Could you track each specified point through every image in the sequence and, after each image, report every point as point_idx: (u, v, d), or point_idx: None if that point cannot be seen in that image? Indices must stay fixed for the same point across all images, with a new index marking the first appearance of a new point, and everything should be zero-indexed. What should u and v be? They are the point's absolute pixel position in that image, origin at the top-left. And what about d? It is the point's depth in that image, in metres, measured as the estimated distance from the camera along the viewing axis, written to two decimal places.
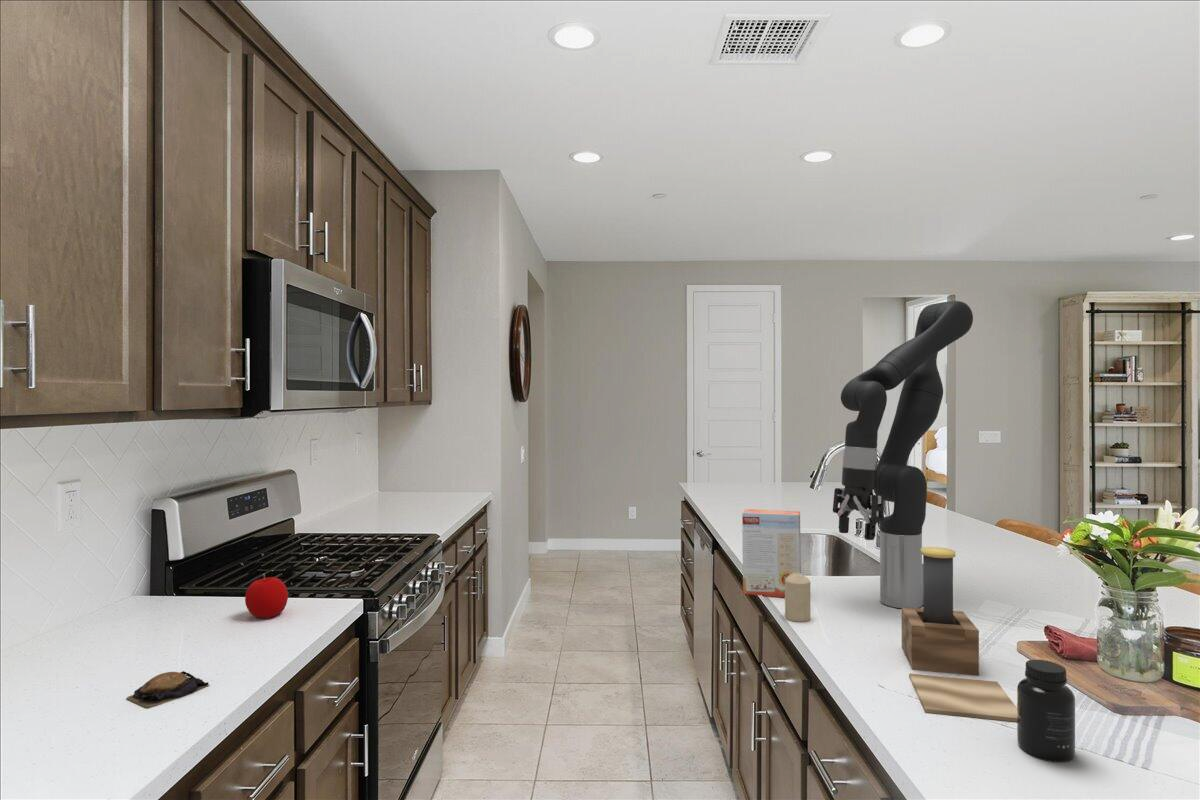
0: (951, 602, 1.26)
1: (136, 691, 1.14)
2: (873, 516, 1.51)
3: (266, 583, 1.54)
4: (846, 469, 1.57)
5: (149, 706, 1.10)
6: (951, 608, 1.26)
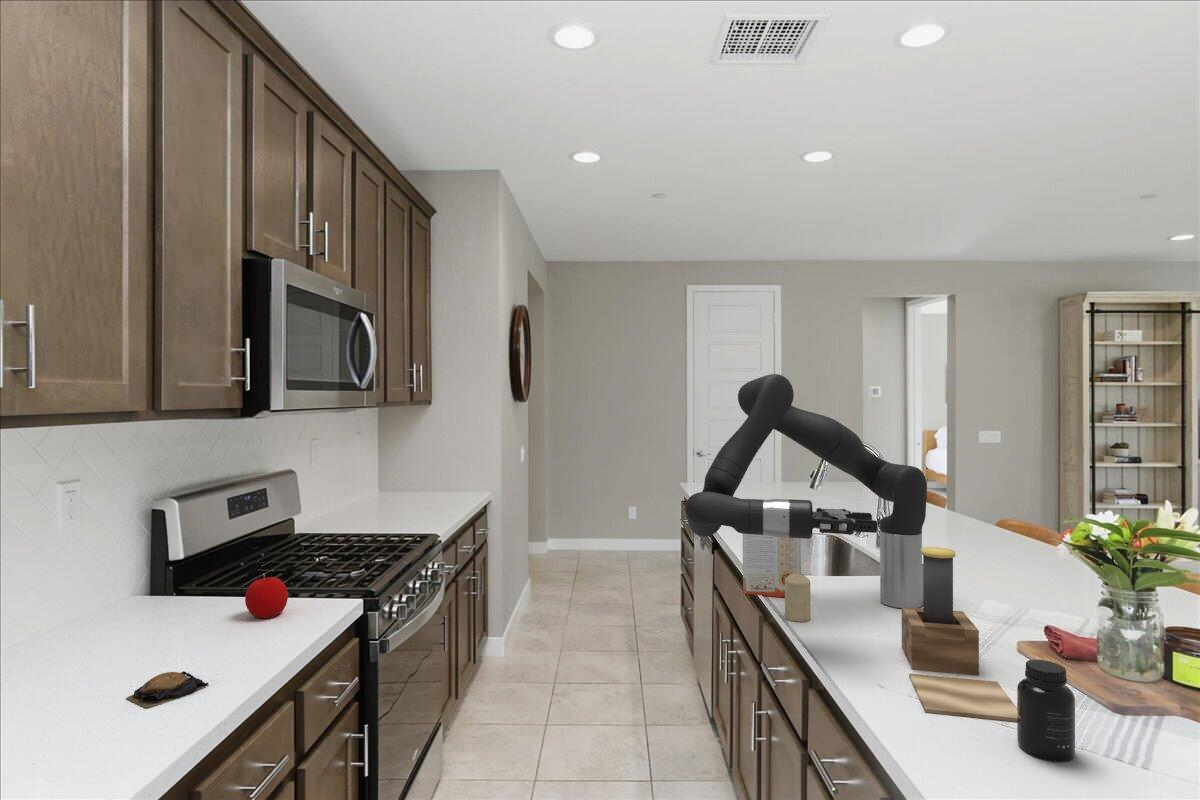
0: (951, 602, 1.26)
1: (136, 691, 1.14)
2: None
3: (266, 583, 1.54)
4: None
5: (148, 707, 1.10)
6: (951, 608, 1.26)
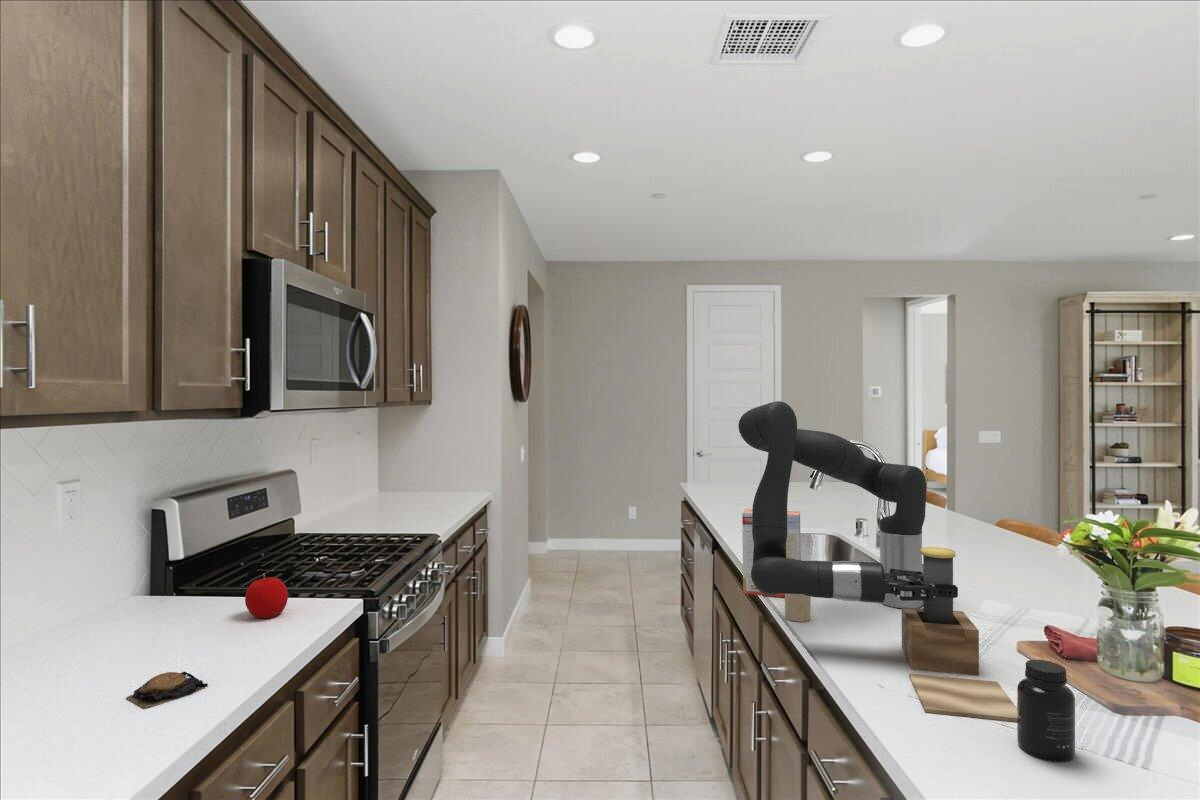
0: (951, 602, 1.26)
1: (136, 691, 1.14)
2: None
3: (266, 583, 1.54)
4: None
5: (146, 707, 1.10)
6: (951, 608, 1.26)
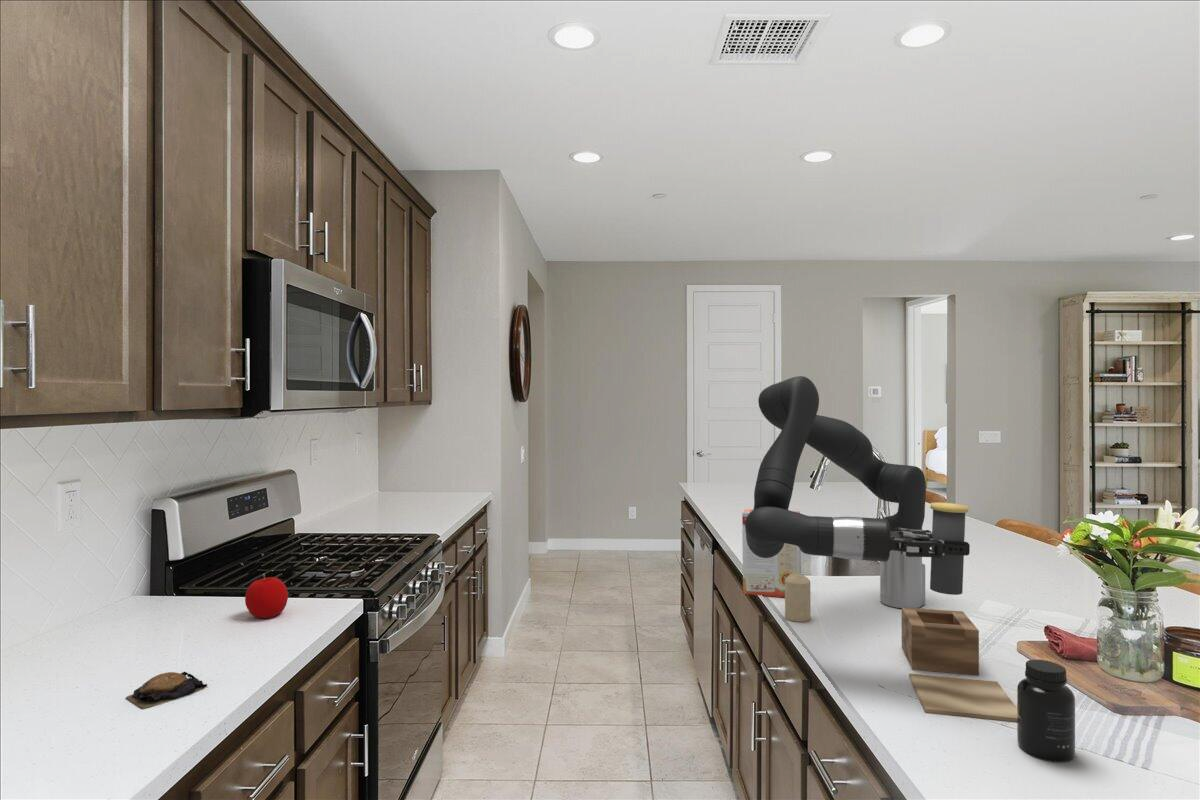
0: (961, 561, 1.15)
1: (136, 691, 1.14)
2: None
3: (266, 583, 1.54)
4: None
5: (144, 707, 1.10)
6: (961, 568, 1.15)
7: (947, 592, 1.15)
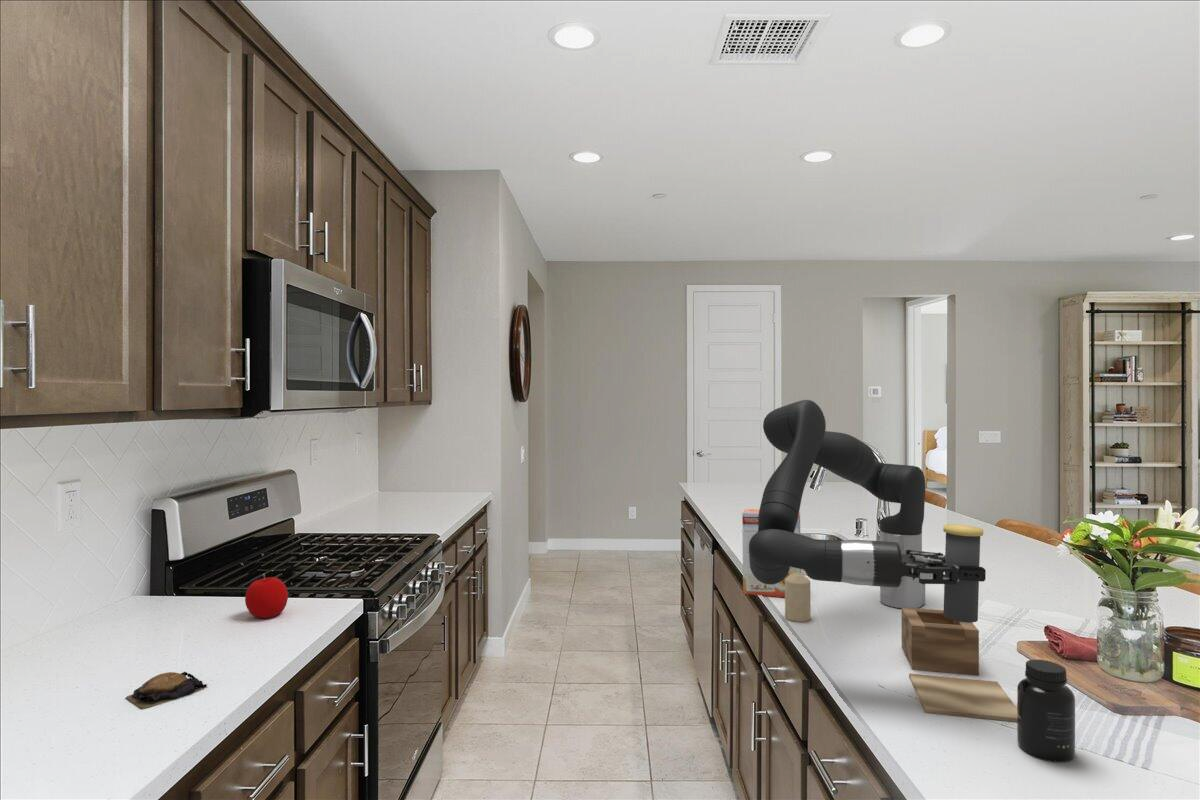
0: (977, 587, 1.10)
1: (135, 691, 1.14)
2: None
3: (266, 583, 1.54)
4: None
5: (144, 707, 1.10)
6: (976, 594, 1.10)
7: (962, 620, 1.10)
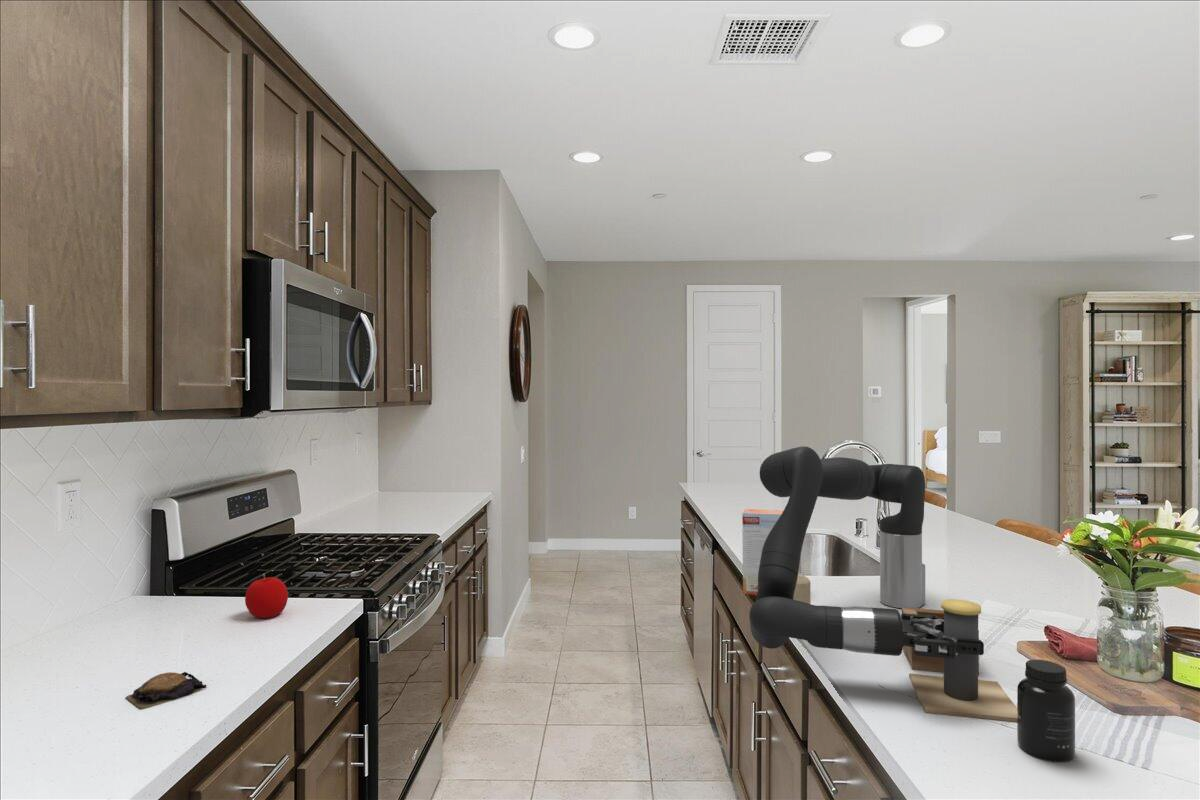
0: (976, 665, 1.10)
1: (135, 690, 1.15)
2: None
3: (266, 583, 1.54)
4: None
5: (142, 707, 1.10)
6: (976, 672, 1.10)
7: (962, 698, 1.10)
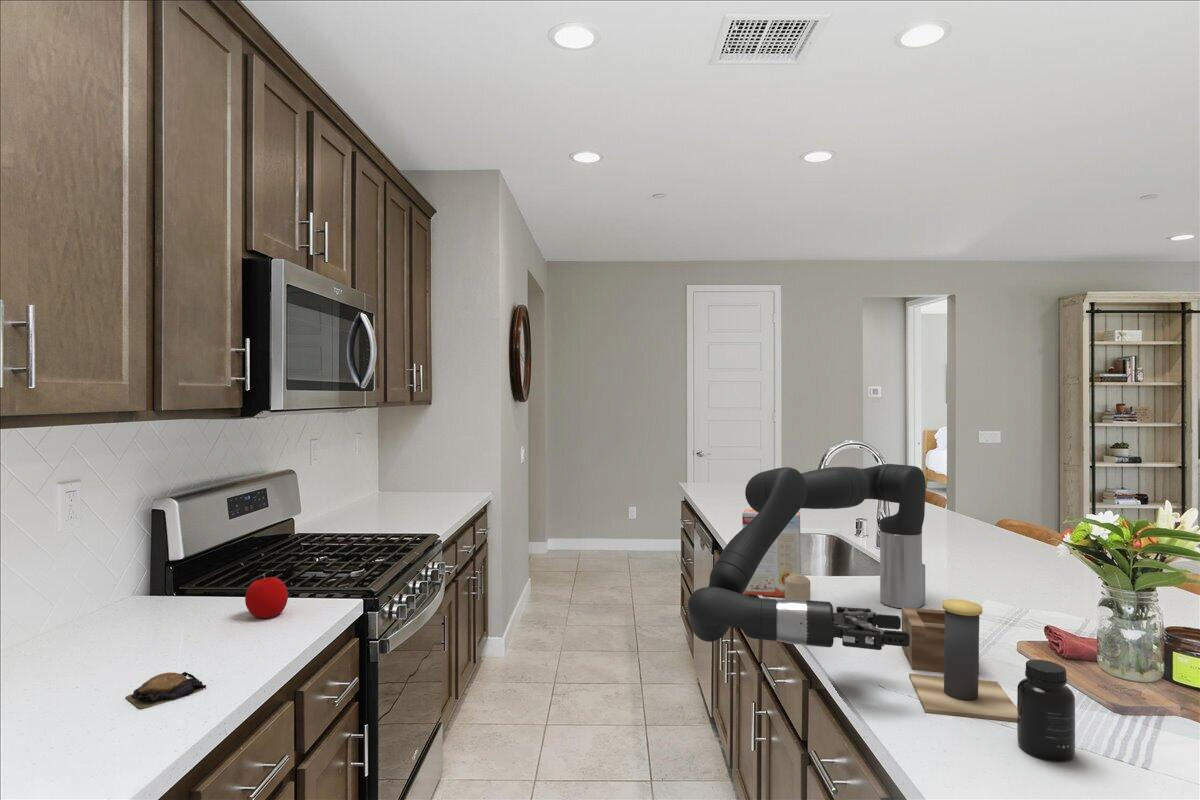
0: (977, 665, 1.10)
1: (135, 690, 1.15)
2: None
3: (266, 583, 1.54)
4: None
5: (142, 708, 1.10)
6: (976, 672, 1.10)
7: (962, 698, 1.10)
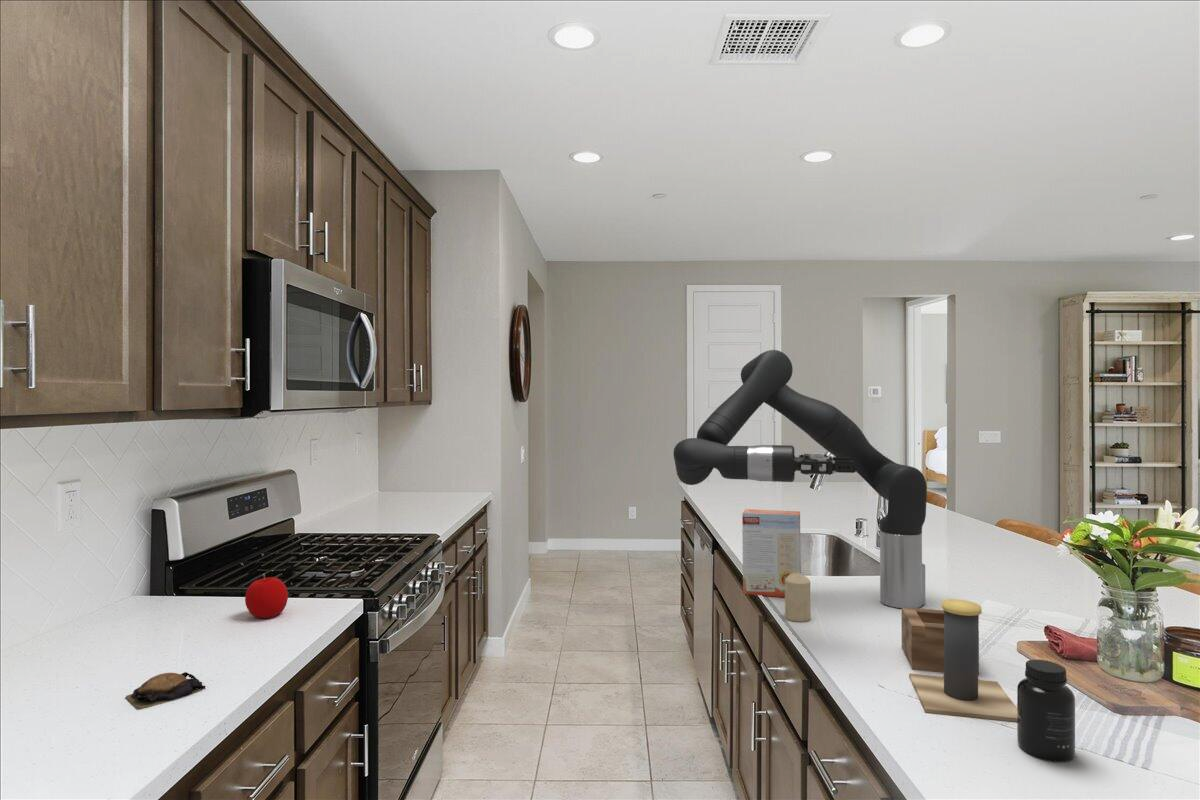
0: (976, 665, 1.10)
1: (135, 690, 1.15)
2: (826, 473, 1.32)
3: (266, 583, 1.54)
4: (774, 481, 1.41)
5: (140, 708, 1.10)
6: (976, 672, 1.10)
7: (963, 698, 1.10)
